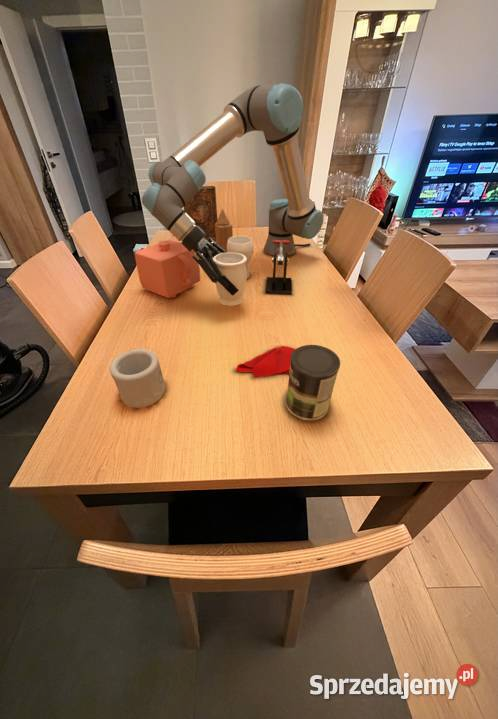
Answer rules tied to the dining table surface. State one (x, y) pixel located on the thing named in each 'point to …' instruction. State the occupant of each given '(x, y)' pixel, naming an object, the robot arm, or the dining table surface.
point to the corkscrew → (280, 256)
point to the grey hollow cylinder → (138, 377)
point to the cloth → (269, 362)
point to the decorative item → (223, 230)
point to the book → (204, 210)
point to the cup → (241, 248)
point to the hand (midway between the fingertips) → (239, 285)
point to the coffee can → (311, 381)
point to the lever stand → (279, 280)
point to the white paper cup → (231, 276)
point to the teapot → (167, 268)
